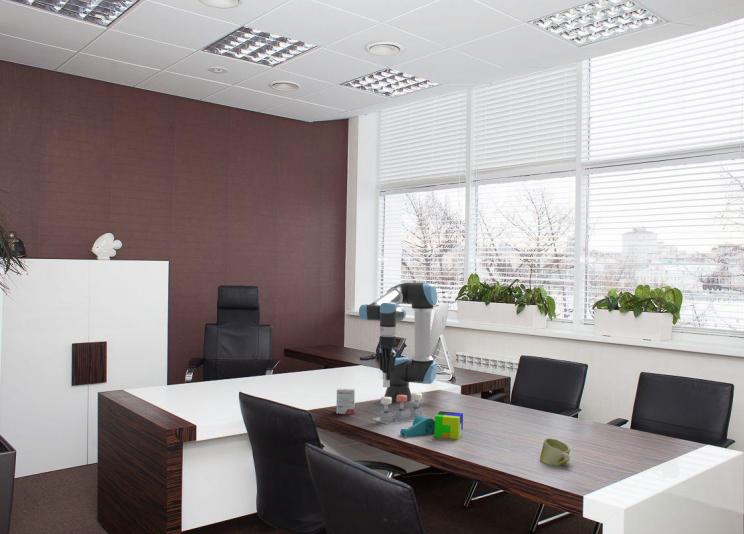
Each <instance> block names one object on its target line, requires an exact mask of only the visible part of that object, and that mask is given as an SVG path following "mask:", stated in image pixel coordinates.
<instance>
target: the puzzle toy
mask: <svg viewBox="0 0 744 534" xmlns="http://www.w3.org/2000/svg"><path fill="white" fill-rule="evenodd" d="M434 421H435V433H434V437H435V438H441V439H442V438H445V439H455V440H459V439H460V438H461V436H463V433H464V413H463V412H453V411H444V410H443V411H442V410H440V411H438V413H437V414H436V415H435V416H434Z"/></svg>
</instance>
